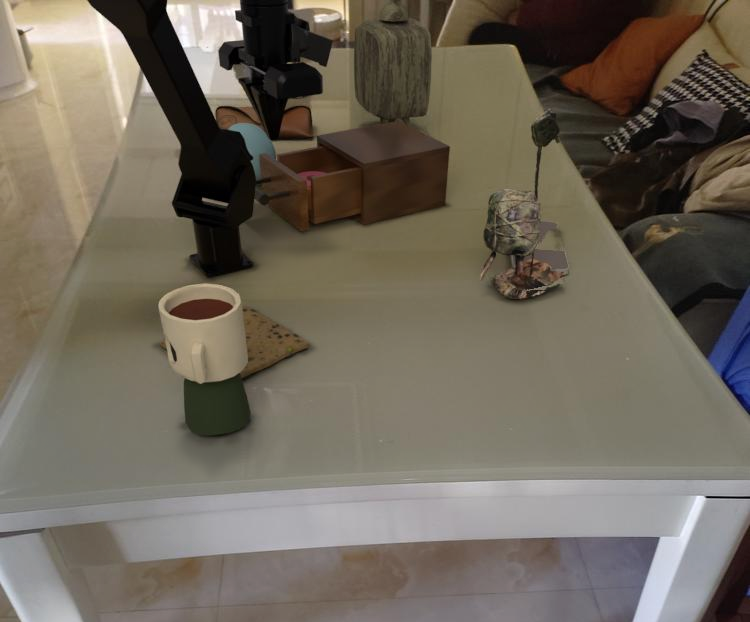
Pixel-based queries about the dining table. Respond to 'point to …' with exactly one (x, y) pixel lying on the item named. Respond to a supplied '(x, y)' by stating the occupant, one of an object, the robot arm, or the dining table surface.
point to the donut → (309, 184)
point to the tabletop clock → (393, 65)
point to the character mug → (208, 355)
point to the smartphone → (547, 251)
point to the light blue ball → (255, 143)
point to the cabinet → (393, 168)
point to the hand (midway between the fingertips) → (273, 139)
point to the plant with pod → (520, 226)
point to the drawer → (328, 191)
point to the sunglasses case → (292, 126)
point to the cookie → (265, 342)
